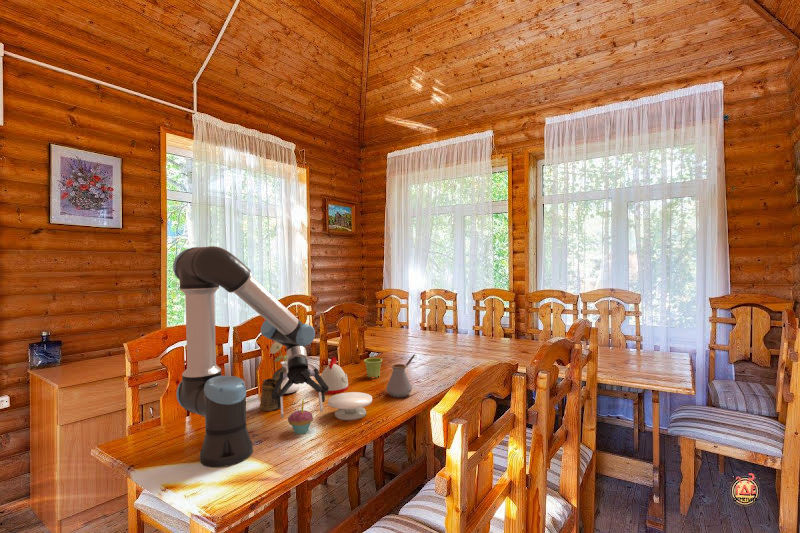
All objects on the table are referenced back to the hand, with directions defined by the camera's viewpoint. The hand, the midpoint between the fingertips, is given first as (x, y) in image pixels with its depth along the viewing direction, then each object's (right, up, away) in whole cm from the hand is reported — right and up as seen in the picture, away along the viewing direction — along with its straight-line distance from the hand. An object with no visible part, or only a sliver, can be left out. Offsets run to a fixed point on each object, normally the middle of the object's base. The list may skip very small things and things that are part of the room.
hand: (302, 413), depth 145 cm
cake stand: (+15, -6, +15) cm, 22 cm away
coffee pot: (+36, -5, +42) cm, 56 cm away
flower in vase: (-18, -6, +44) cm, 48 cm away
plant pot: (+21, -5, +67) cm, 71 cm away
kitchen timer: (+3, -6, +47) cm, 48 cm away
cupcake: (0, -6, 0) cm, 6 cm away
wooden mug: (-17, -7, +23) cm, 29 cm away
